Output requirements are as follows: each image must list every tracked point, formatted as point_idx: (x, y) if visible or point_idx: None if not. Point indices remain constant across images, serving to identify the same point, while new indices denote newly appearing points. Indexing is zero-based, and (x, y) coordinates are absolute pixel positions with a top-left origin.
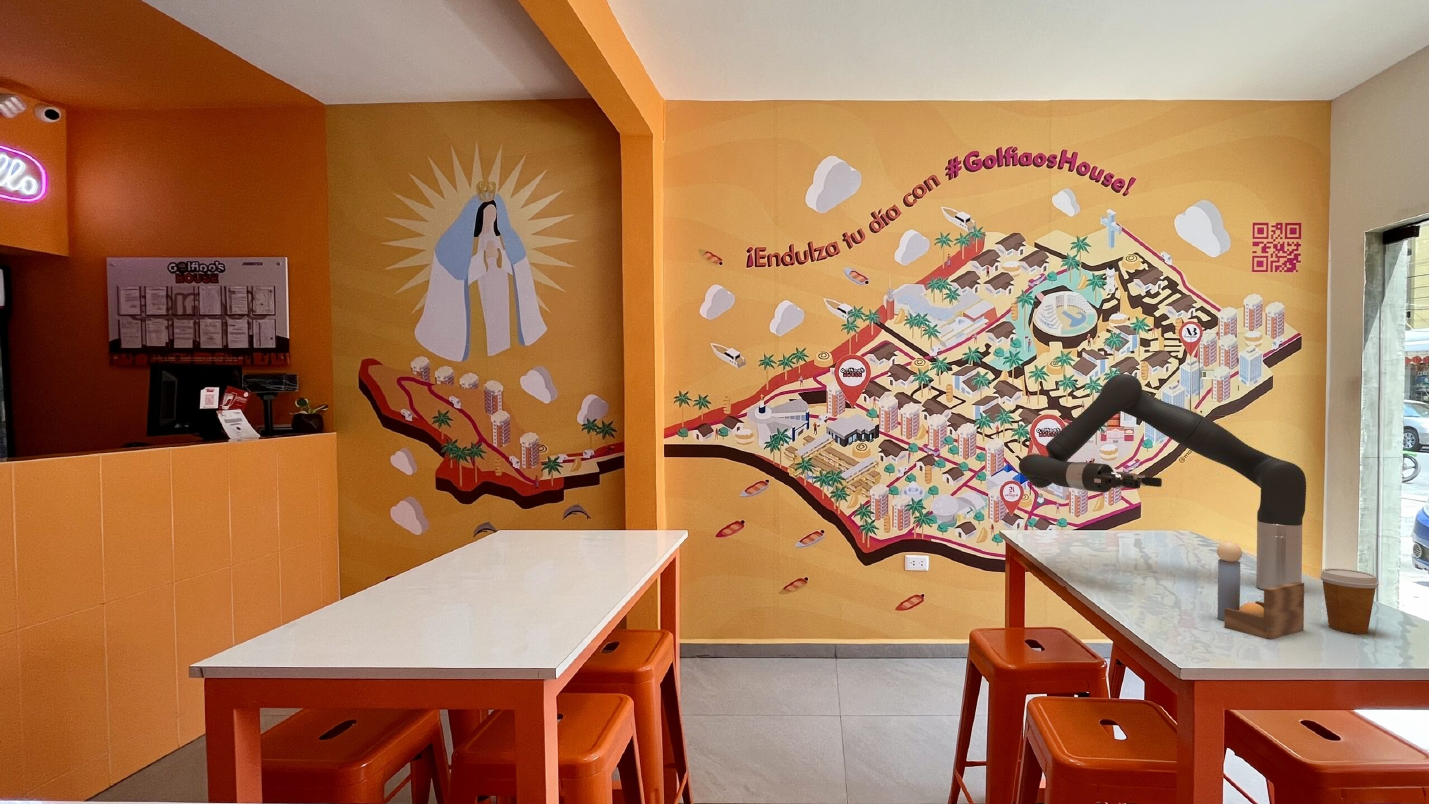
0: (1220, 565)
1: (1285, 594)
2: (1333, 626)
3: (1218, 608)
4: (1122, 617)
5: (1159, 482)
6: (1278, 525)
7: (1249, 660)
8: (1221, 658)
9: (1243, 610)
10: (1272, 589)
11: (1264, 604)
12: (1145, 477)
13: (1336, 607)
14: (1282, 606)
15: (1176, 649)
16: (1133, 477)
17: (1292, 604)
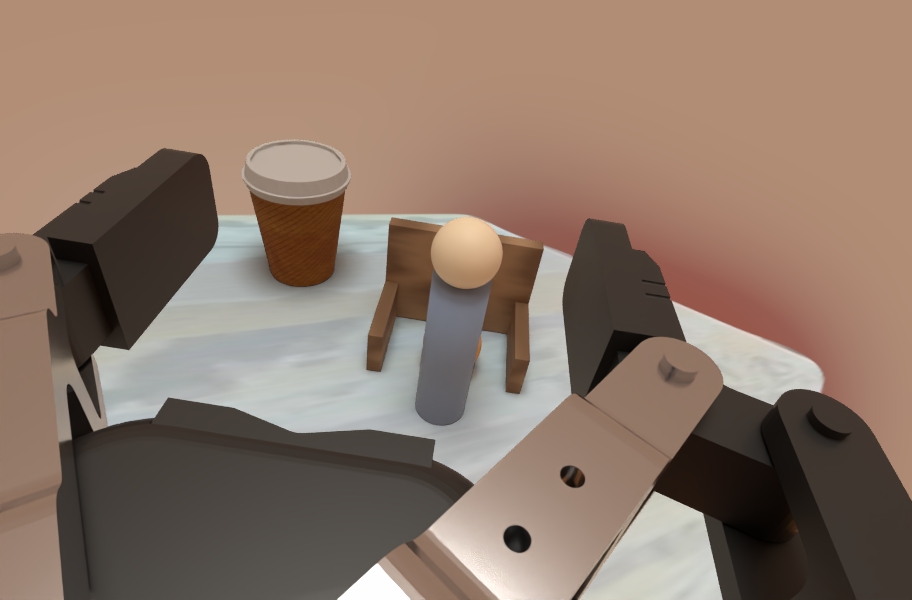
0: (486, 301)
1: None
2: (326, 275)
3: (461, 400)
4: (716, 589)
5: (212, 195)
6: None
7: (680, 324)
8: (722, 349)
9: (478, 344)
10: (532, 240)
11: (535, 278)
12: (93, 253)
13: (335, 236)
14: None
15: (772, 404)
16: (80, 390)
17: None
